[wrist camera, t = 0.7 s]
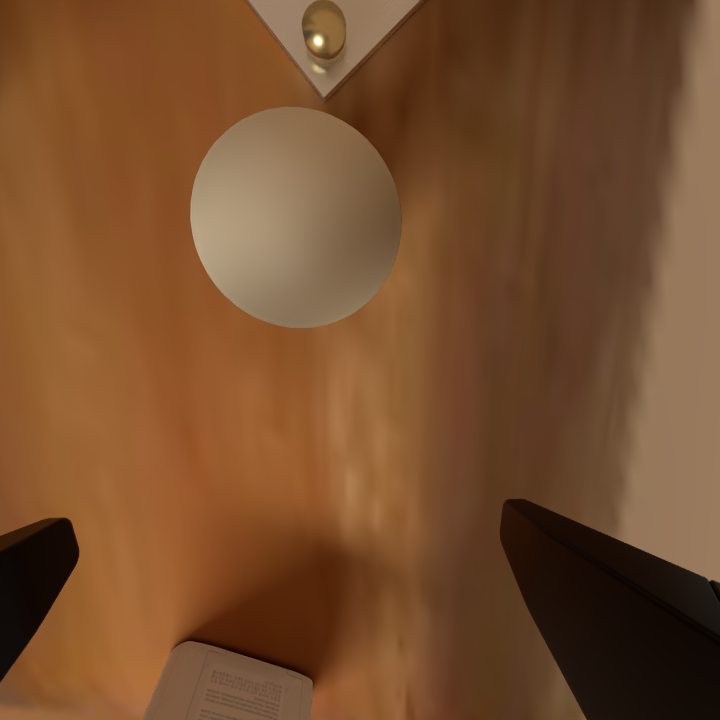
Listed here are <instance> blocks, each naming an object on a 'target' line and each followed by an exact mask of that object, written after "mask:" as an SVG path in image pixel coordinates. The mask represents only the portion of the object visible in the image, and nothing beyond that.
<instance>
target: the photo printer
mask: <svg viewBox="0 0 720 720" xmlns="http://www.w3.org/2000/svg"><path fill="white" fill-rule="evenodd" d="M312 696H313V682H312V680H311V679H310V678H308V677H306V676H304V675H302V674H300V673H297V672H294V671H292V670H288V669H285V668H282V667H279V666H276V665H272V664H269V663H266V662H263V661H260V660H257V659H253V658H250V657H247V656H244V655H240V654H237V653H234V652H231V651H227V650H225V649H222V648H218V647H215V646H211V645H207V644H203V643H199V642H193V641H187V642H183V643H181V644H179V645H178V646H176V647H175V648H174V649H173V650H172V651H171V653H170V655H169V657H168V659H167V661H166V664H165V666H164V669H163V671H162V673H161V676H160V678H159V681H158V683H157V685H156V688H155V690H154V692H153V695H152V697H151V700H150V702H149V704H148V707H147V709H146V711H145V714H144V716H143V719H142V720H311V708H312Z"/></svg>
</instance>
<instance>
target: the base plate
mask: <svg viewBox="0 0 720 720" xmlns="http://www.w3.org/2000/svg"><path fill="white" fill-rule="evenodd" d="M245 1H246V2H247V4H248V5H249V6H250V7H251V9H252V10H253V11H254V13H255V14H256V15H257V16H258V18H259V19H260V20H261V21H262V23H263V24H264V25H265V27H266V28H267V29H268V30H269V32H270V33H271V34H272V36H273V37H274V38H275V39H276V41H277V42H278V43H279V45H280V46H281V47H282V48H283V50H284V51H285V52H286V54H287V55H288V56H289V57H290V59H291V60H292V61H293V63H294V64H295V65H296V66H297V68H298V69H299V70H300V72H301V73H302V74H303V75H304V77H305V78H306V79H307V81H308V82H309V83H310V84H311V86H312V87H313V88H314V90H315V91H316V92H317V93H318V95H319V96H320V97H321V99H322V100H323V101H324V102H326V101H327V100H328V99H329V98H330V97H331V96H332V95H333V94H334V93H335V92H336V91H337V90H338V89H339V88H340V87H341V86H342V85H343V84H344V83H345V82H346V81H347V80H348V79H349V78H350V77H351V76H352V75H353V74H354V73H355V72H356V71H357V70H358V69H359V68H360V67H361V66H362V65H363V64H364V63H365V62H366V61H367V60H368V59H369V58H370V57H371V56H372V55H373V54H374V53H375V52H376V51H377V50H378V49H379V48H380V47H381V46H382V45H383V44H384V43H385V42H386V41H387V40H388V39H389V38H390V37H391V36H392V35H393V34H394V33H395V32H396V31H397V30H398V28H399V27H400V26H401V25H402V24H403V23H404V22H405V21H406V20H407V19H408V18H409V17H410V16H411V15H412V14H413V13H414V12H415V11H416V10H417V9H418V8H419V7H420V6H421V5H422V4H423V3H424V2H425V1H426V0H245Z"/></svg>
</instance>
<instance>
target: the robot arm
mask: <svg viewBox="0 0 720 720" xmlns="http://www.w3.org/2000/svg"><path fill="white" fill-rule="evenodd" d="M500 540H501V544H502V546H503V549H504V551H505V554H506V556H507V559H508V561H509V564H510V566H511V569H512V571H513V574H514V577H515V579H516V582H517V584H518V587H519V589H520V592H521V594H522V597H523V599H524V601H525V604H526V606H527V608H528V610H529V612H530V614H531V616H532V618H533V620H534V622H535V623H536V625H537V627H538V629H539V631H540V633H541V635H542V637H543V638H544V640H545V642H546V644H547V646H548V648H549V650H550V652H551V653H552V655H553V657H554V659H555V661H556V663H557V665H558V667H559V669H560V670H561V672H562V674H563V676H564V678H565V680H566V682H567V684H568V685H569V687H570V689H571V691H572V693H573V695H574V697H575V699H576V701H577V702H578V704H579V706H580V708H581V710H582V712H583V714H584V716H585V717H586V719H587V720H720V583H719V582H716V581H713V580H711V581H710V582H709V581H708V579H706V578H705V577H703V576H700V575H698V574H696V573H694V572H691V571H689V570H687V569H684V568H682V567H680V566H677V565H675V564H673V563H670V562H668V561H666V560H663V559H661V558H659V557H656V556H654V555H652V554H650V553H647V552H645V551H643V550H640V549H638V548H636V547H633V546H631V545H629V544H627V543H624V542H622V541H620V540H617V539H615V538H613V537H610V536H608V535H606V534H604V533H601V532H599V531H597V530H594V529H592V528H590V527H587V526H585V525H583V524H580V523H578V522H576V521H574V520H571V519H569V518H567V517H564V516H562V515H560V514H557V513H555V512H553V511H550V510H548V509H546V508H544V507H541V506H539V505H537V504H534V503H532V502H530V501H527V500H525V499H507V500H505V501H504V504H503V508H502V516H501V524H500ZM78 558H79V546H78V543H77V540H76V536H75V533H74V529H73V526H72V523H71V521H70V520H69V519H67V518H48V519H44V520H41V521H38V522H36V523H33V524H30V525H28V526H25V527H22V528H20V529H17V530H15V531H12V532H9V533H7V534H4V535H1V536H0V682H1V681H2V679H3V678H4V677H5V675H6V674H7V673H8V671H9V670H10V668H11V667H12V666H13V664H14V663H15V661H16V660H17V659H18V657H19V656H20V654H21V653H22V652H23V650H24V649H25V647H26V646H27V645H28V643H29V642H30V640H31V639H32V637H33V636H34V634H35V633H36V631H37V630H38V628H39V626H40V625H41V623H42V622H43V620H44V618H45V617H46V615H47V613H48V612H49V610H50V608H51V607H52V605H53V603H54V602H55V600H56V598H57V596H58V595H59V593H60V591H61V590H62V588H63V586H64V585H65V583H66V581H67V579H68V578H69V576H70V574H71V573H72V571H73V569H74V568H75V566H76V564H77V561H78Z"/></svg>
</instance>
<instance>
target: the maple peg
mask: <svg viewBox="0 0 720 720" xmlns="http://www.w3.org/2000/svg"><path fill="white" fill-rule="evenodd" d="M190 219H191V227H192V234H193V238H194V242H195V246H196V249H197V252H198V255H199V257H200V260H201V262H202V264H203V266H204V268H205V270H206V272H207V273H208V275H209V276H210V278H211V279H212V281H213V282H214V284H215V285H216V286H217V287H218V288H219V290H220V291H221V292H222V293H223V294H224V295H225V296H226V297H227V298H228V299H229V300H230V301H231V302H233V303H234V304H235V305H236V306H238V307H239V308H240V309H242V310H243V311H245V312H246V313H248V314H250V315H252V316H254V317H256V318H258V319H260V320H263V321H265V322H268V323H271V324H275V325H279V326H283V327H291V328H311V327H319V326H323V325H327V324H331V323H334V322H336V321H339V320H341V319H344V318H346V317H347V316H349V315H351V314H353V313H354V312H356V311H357V310H359V309H360V308H361V307H363V306H364V305H365V304H366V303H367V302H368V301H369V300H370V299H371V298H372V297H373V296H374V295H375V294H376V293H377V292H378V290H379V289H380V288H381V286H382V285H383V284H384V282H385V280H386V279H387V277H388V275H389V274H390V271H391V269H392V267H393V264H394V262H395V259H396V256H397V252H398V249H399V244H400V237H401V221H402V219H401V208H400V202H399V197H398V192H397V189H396V186H395V183H394V180H393V178H392V175H391V173H390V171H389V169H388V167H387V165H386V163H385V162H384V160H383V159H382V157H381V156H380V154H379V153H378V151H377V150H376V149H375V148H374V147H373V145H372V144H371V143H370V142H369V141H368V140H367V139H366V138H365V137H364V136H363V135H362V134H361V133H359V132H358V131H357V130H356V129H355V128H353V127H352V126H350V125H349V124H347V123H346V122H344V121H342V120H340V119H338V118H336V117H334V116H332V115H330V114H327V113H324V112H321V111H318V110H315V109H309V108H302V107H280V108H273V109H268V110H264V111H261V112H258V113H255V114H253V115H251V116H248V117H246V118H244V119H242V120H241V121H239V122H238V123H236V124H235V125H233V126H232V127H230V128H229V129H228V130H227V131H226V132H225V133H224V134H222V135H221V136H220V137H219V138H218V140H217V141H216V142H215V143H214V144H213V146H212V147H211V148H210V150H209V151H208V153H207V155H206V156H205V158H204V159H203V161H202V163H201V166H200V168H199V170H198V173H197V175H196V179H195V182H194V186H193V190H192V197H191V218H190Z"/></svg>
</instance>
